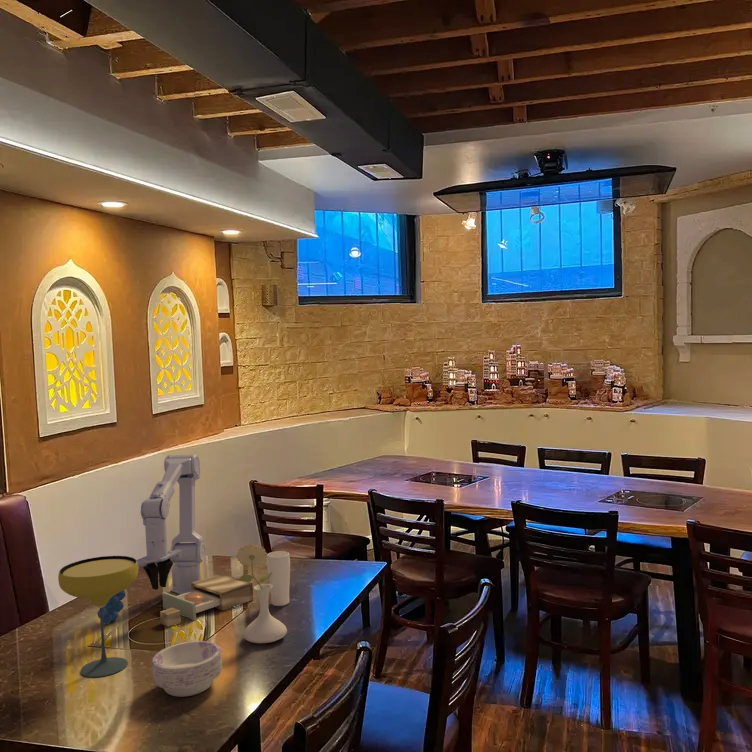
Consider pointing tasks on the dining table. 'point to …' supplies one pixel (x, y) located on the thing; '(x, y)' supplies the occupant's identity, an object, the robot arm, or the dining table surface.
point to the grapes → (112, 608)
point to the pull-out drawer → (189, 603)
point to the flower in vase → (260, 599)
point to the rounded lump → (194, 598)
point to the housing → (225, 590)
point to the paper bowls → (187, 667)
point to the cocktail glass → (99, 597)
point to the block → (170, 617)
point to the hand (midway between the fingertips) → (159, 587)
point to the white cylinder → (279, 577)
